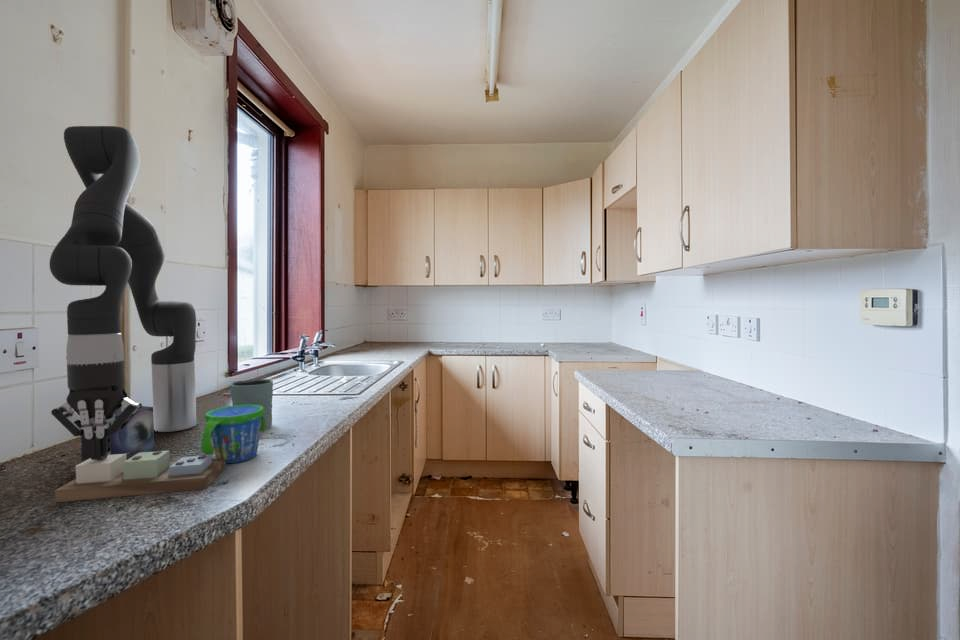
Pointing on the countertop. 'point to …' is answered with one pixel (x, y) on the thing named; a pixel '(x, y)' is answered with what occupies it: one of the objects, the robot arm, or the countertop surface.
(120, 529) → the countertop surface
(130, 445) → the small box
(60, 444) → the countertop surface
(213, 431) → the snack cup
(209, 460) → the tile three
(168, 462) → the tile two
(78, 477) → the tile one
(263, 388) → the grey green plant pot
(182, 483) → the board
